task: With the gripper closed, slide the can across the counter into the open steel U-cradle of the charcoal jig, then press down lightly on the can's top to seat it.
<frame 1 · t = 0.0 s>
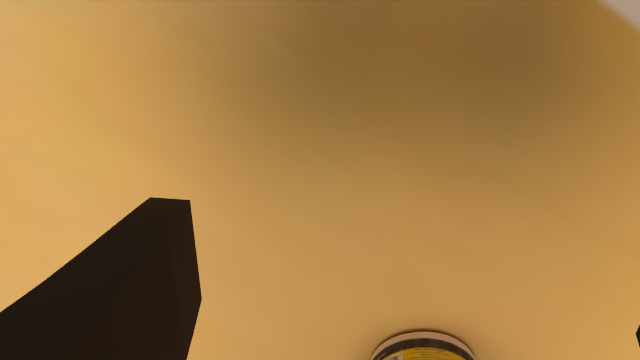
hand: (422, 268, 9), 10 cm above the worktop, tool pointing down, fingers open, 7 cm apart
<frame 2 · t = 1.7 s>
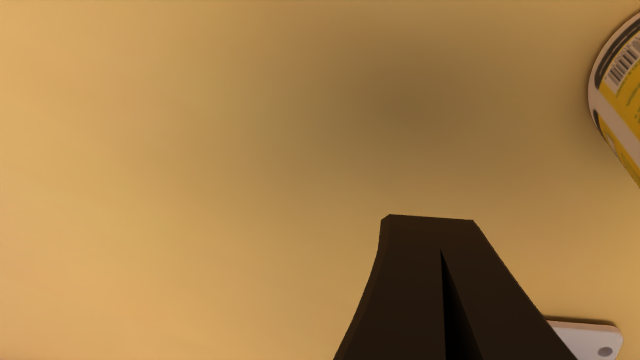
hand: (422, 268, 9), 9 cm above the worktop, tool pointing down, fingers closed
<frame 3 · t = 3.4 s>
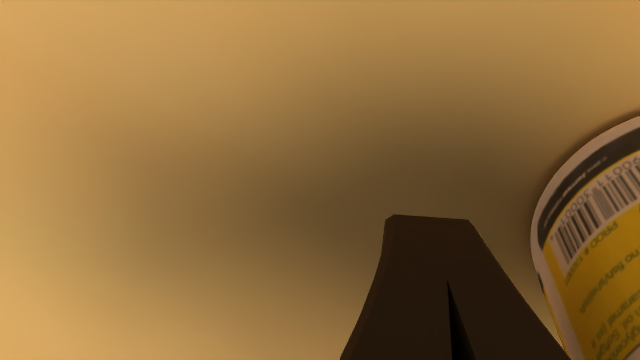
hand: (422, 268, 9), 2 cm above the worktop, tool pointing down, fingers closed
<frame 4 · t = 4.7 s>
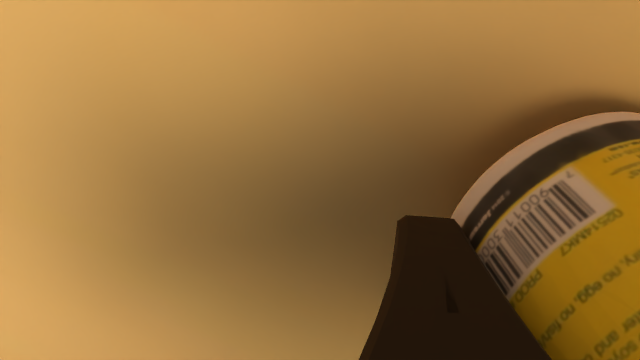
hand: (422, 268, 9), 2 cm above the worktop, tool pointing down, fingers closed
supplement bottle: (556, 222, 10), on the worktop, touching gripper
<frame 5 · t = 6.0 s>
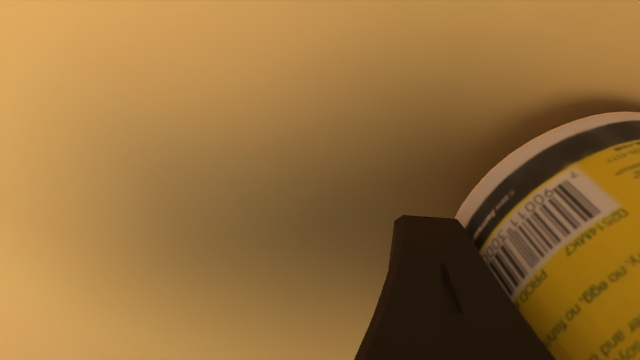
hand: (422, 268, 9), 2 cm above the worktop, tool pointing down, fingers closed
supplement bottle: (559, 223, 10), on the worktop, touching gripper
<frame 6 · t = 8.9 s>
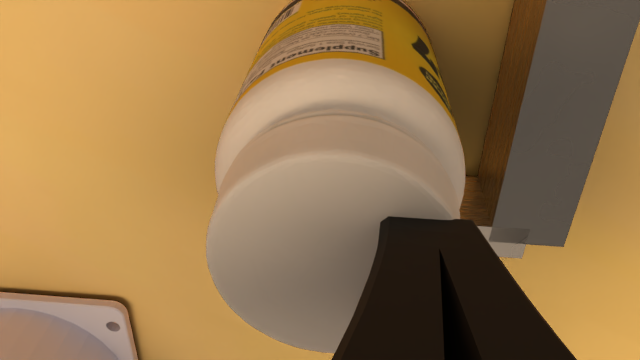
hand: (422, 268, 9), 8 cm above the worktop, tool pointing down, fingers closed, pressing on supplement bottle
supplement bottle: (347, 63, 16), on the worktop, touching gripper
jig: (395, 68, 16), on the worktop
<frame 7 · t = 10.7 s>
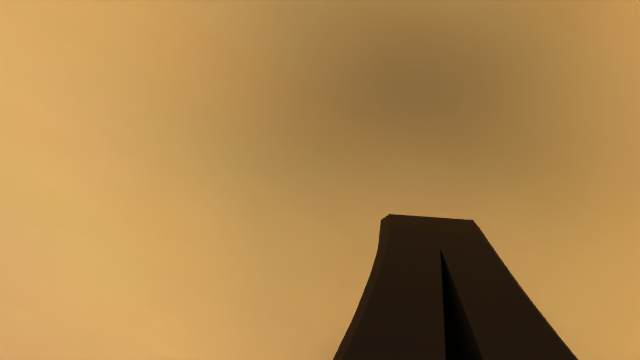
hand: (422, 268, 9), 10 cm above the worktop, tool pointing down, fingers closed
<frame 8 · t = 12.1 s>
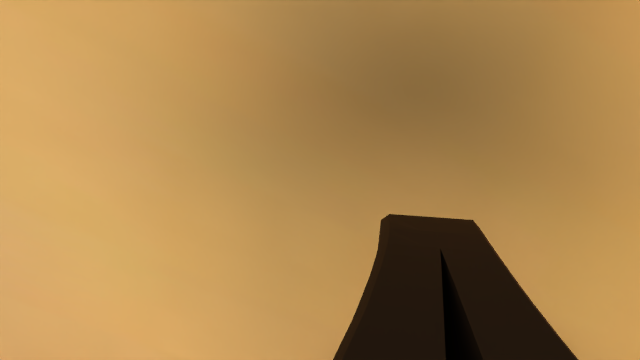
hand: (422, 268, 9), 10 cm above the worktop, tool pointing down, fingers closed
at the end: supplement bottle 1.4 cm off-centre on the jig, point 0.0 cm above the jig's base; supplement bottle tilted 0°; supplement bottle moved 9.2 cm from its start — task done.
